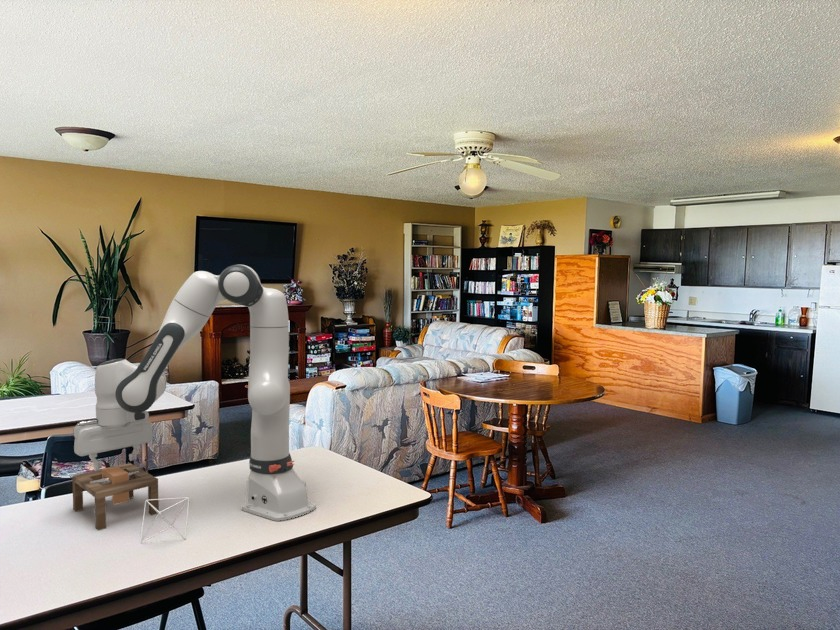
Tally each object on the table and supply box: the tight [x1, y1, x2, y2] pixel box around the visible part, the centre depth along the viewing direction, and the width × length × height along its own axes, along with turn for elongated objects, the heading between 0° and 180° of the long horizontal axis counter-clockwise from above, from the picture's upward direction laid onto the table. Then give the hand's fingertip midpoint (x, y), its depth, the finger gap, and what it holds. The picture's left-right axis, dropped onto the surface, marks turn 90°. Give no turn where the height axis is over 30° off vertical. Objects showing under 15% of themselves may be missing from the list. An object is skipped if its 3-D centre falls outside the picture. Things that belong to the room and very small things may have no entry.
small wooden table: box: [71, 462, 160, 531], centre depth 170 cm, size 20×16×10 cm
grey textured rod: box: [90, 471, 139, 485], centre depth 170 cm, size 2×13×2 cm, turn 136°
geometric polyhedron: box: [139, 496, 190, 544], centre depth 155 cm, size 12×11×9 cm
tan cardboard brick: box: [101, 465, 130, 505], centre depth 170 cm, size 9×4×8 cm, turn 47°
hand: (115, 464), depth 170 cm, fingers open, 8 cm apart
